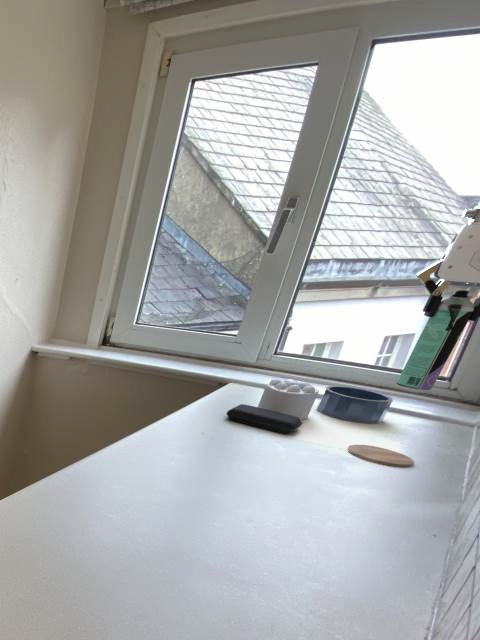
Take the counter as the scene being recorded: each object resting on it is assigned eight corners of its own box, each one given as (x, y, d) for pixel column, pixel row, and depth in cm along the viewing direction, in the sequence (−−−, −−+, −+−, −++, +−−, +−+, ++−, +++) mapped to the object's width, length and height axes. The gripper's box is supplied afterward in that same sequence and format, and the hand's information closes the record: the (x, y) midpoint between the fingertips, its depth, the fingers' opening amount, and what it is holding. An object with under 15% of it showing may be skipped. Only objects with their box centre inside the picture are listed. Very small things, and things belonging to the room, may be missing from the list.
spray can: (435, 394, 112) (490, 293, 103) (402, 391, 114) (453, 290, 105) (421, 387, 117) (472, 289, 108) (389, 384, 118) (437, 287, 110)
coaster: (426, 466, 117) (428, 463, 117) (383, 467, 116) (384, 465, 115) (375, 446, 127) (376, 444, 126) (334, 447, 125) (335, 444, 125)
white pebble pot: (312, 415, 146) (326, 384, 142) (293, 424, 139) (308, 391, 135) (267, 404, 153) (280, 374, 150) (248, 412, 147) (260, 380, 143)
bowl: (395, 423, 143) (406, 401, 140) (350, 423, 141) (361, 401, 138) (345, 406, 155) (355, 385, 152) (304, 406, 153) (313, 385, 150)
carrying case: (302, 428, 136) (236, 411, 146) (308, 416, 135) (240, 400, 145) (290, 437, 130) (222, 419, 140) (295, 425, 129) (226, 407, 139)
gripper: (444, 215, 102) (396, 315, 110) (579, 219, 94) (517, 326, 102) (432, 215, 108) (388, 310, 116) (559, 219, 100) (502, 321, 108)
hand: (449, 317), depth 109 cm, fingers closed on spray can, 5 cm apart
